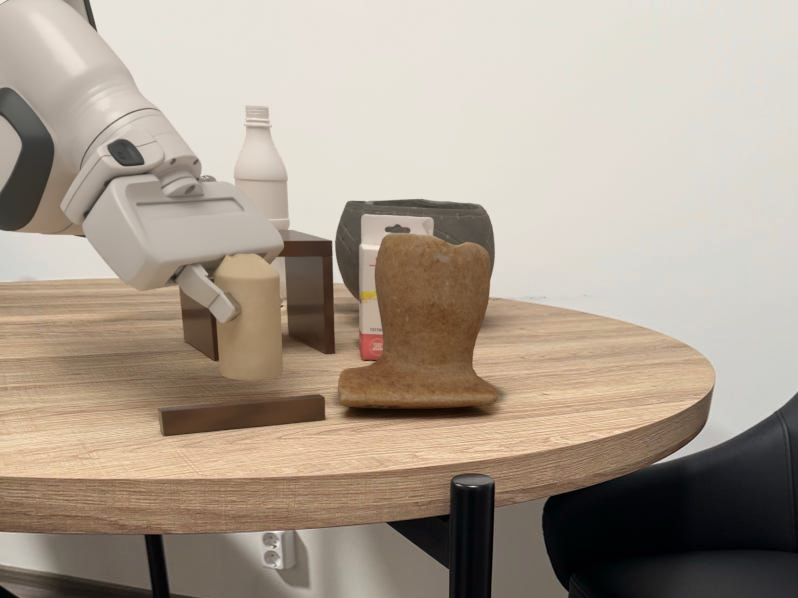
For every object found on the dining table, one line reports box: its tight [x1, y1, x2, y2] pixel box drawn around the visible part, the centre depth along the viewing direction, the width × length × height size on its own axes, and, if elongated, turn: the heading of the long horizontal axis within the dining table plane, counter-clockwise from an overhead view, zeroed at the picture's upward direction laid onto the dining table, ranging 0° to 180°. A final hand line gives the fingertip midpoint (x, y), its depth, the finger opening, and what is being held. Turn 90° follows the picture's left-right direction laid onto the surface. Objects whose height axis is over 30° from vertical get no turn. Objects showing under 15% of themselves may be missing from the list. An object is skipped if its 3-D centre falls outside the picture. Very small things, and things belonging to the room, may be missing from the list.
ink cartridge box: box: [358, 214, 434, 361], centre depth 104 cm, size 9×5×15 cm, turn 100°
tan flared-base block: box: [337, 233, 500, 410], centre depth 86 cm, size 15×12×15 cm
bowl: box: [334, 198, 496, 302], centre depth 124 cm, size 21×21×15 cm
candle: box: [213, 254, 284, 382], centre depth 82 cm, size 6×6×10 cm
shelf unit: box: [178, 229, 336, 362], centre depth 106 cm, size 14×12×12 cm
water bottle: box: [233, 105, 291, 308], centre depth 129 cm, size 7×7×25 cm
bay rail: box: [157, 393, 326, 436], centre depth 79 cm, size 14×1×2 cm, turn 121°
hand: (254, 312), depth 82 cm, fingers closed on candle, 5 cm apart
